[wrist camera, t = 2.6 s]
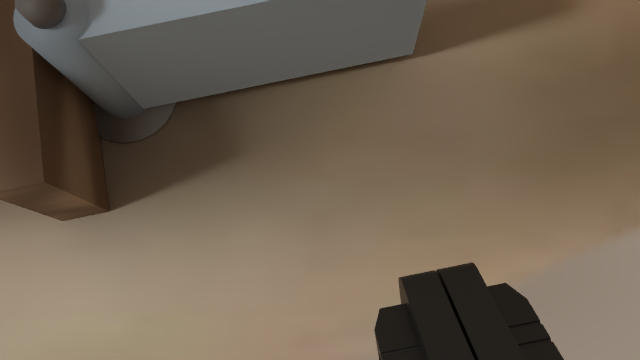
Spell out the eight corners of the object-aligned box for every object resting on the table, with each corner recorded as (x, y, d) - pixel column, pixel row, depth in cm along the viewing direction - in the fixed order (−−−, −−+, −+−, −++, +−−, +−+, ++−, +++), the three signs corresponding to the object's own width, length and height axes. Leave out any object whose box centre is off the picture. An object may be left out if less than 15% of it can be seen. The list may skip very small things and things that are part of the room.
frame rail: (62, 220, 27) (-70, 175, 18) (34, -73, 30) (-87, -224, 22) (193, 193, 27) (123, 136, 18) (149, -96, 31) (74, -257, 22)
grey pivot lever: (102, 123, 27) (16, 53, 20) (96, 74, 28) (10, -12, 21) (413, 60, 28) (438, -32, 20) (400, 12, 28) (420, -94, 21)
